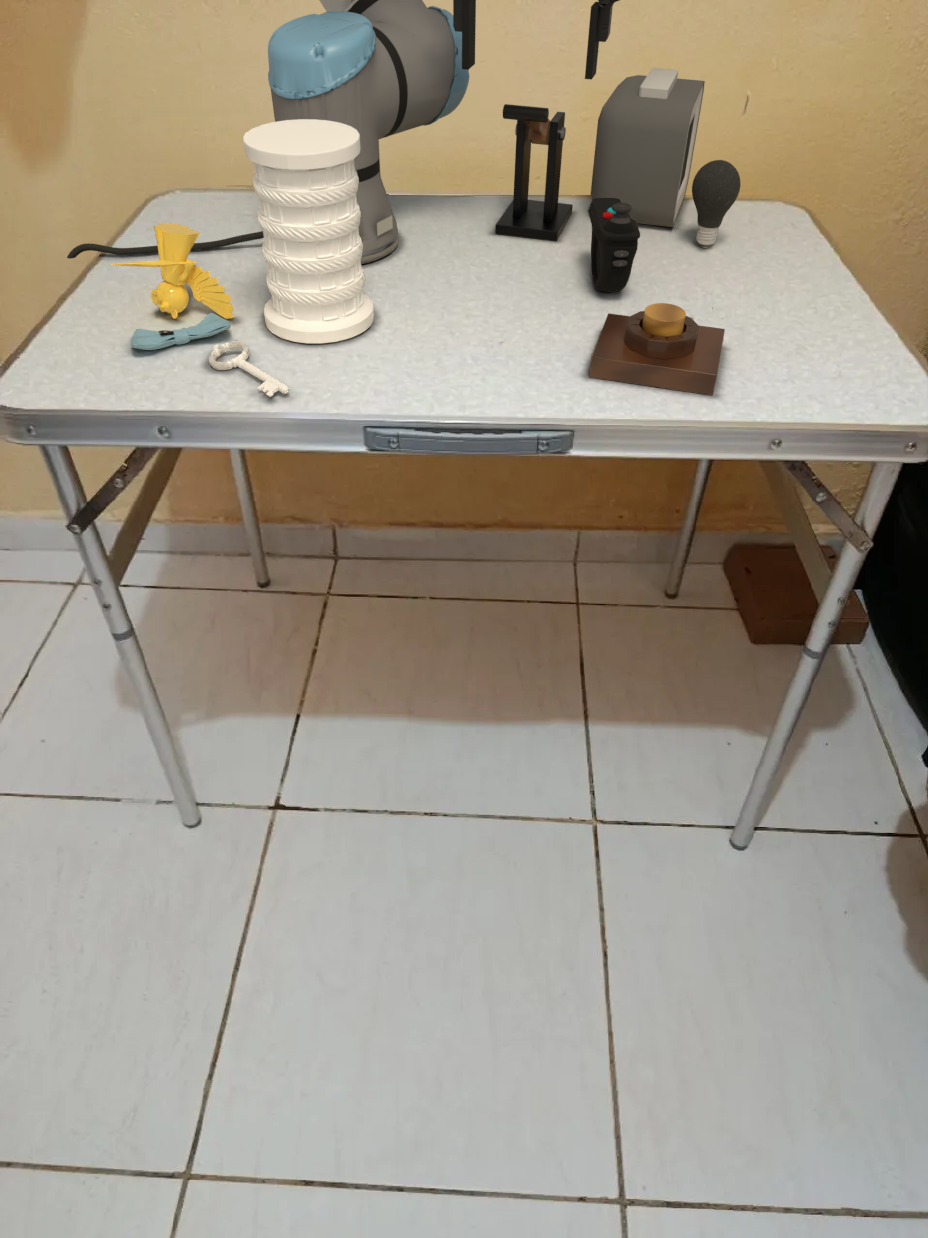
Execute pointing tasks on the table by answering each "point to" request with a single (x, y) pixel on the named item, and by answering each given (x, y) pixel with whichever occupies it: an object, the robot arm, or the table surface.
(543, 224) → the switch bracket
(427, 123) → the robot arm
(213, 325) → the bow tie
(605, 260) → the controller
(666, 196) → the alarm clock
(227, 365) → the key
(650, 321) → the power button
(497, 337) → the table surface
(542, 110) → the lever
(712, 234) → the light bulb
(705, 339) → the switch block
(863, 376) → the table surface
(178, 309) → the figurine
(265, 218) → the decorative container
